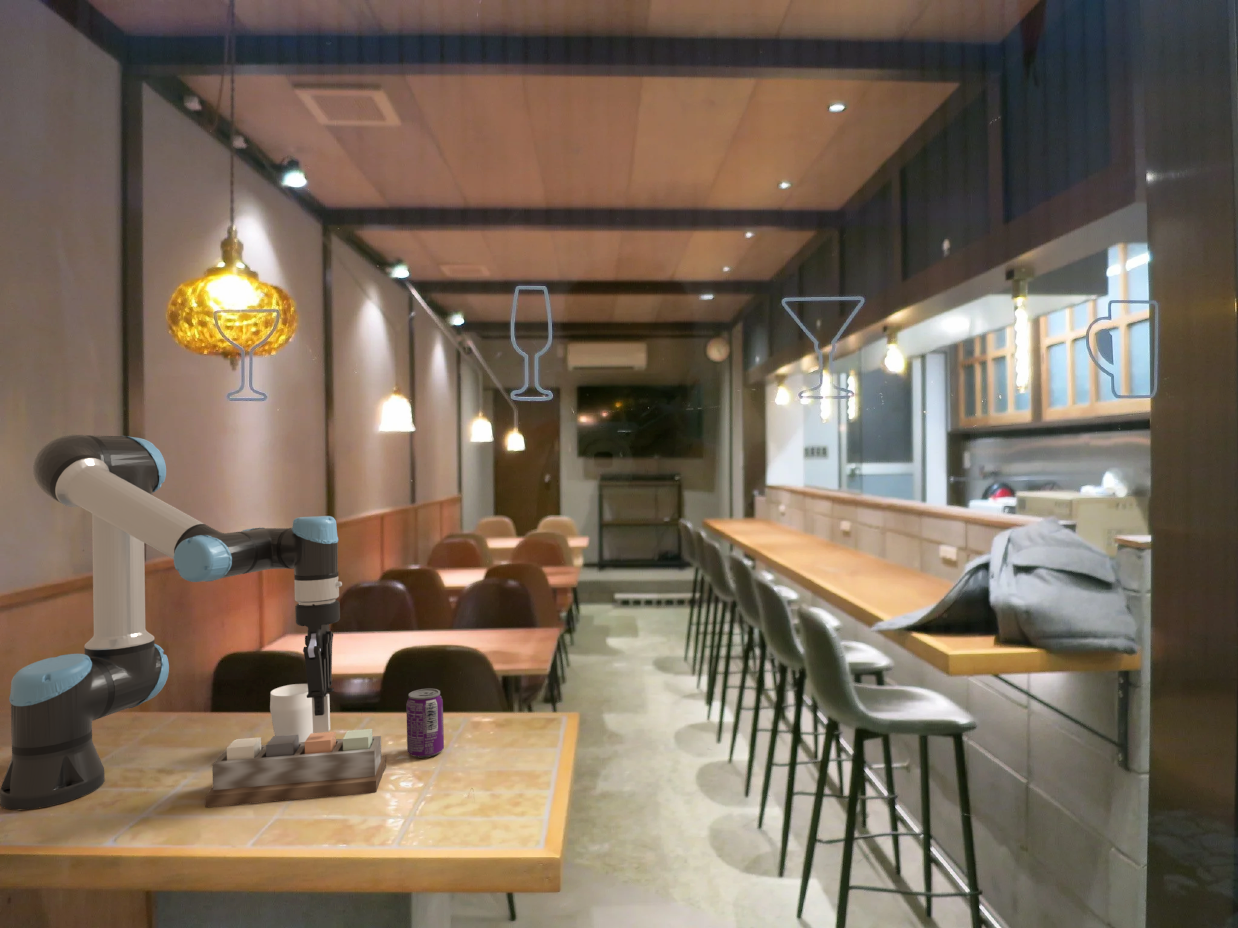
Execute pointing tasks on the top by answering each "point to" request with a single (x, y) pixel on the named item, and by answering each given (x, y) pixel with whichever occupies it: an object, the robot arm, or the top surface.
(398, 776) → the top surface
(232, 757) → the key ivory
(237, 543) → the robot arm
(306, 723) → the cup
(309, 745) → the key terracotta
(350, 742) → the key sage
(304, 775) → the slotted block tray
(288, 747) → the key charcoal
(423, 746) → the beverage can
